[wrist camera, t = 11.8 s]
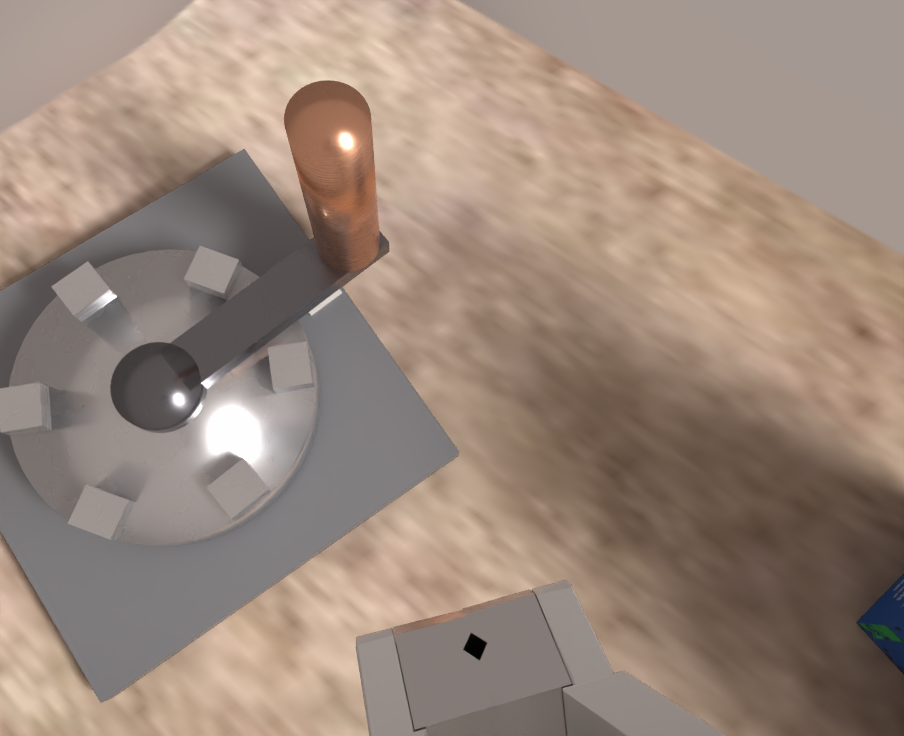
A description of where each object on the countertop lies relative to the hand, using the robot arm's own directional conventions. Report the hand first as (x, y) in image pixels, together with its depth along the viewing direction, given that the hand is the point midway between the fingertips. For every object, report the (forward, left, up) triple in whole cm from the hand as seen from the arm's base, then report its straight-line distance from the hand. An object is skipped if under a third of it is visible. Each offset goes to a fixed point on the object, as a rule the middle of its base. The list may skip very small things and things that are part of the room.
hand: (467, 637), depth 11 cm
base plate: (+15, +5, -30) cm, 34 cm away
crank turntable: (+15, +2, -29) cm, 32 cm away
